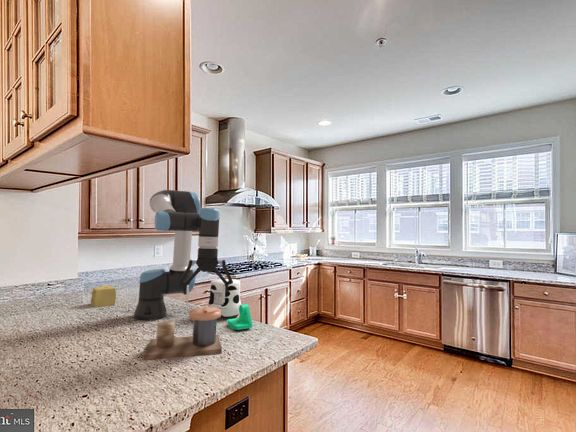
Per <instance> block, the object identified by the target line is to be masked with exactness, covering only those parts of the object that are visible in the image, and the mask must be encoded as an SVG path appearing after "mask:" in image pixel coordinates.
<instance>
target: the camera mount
mask: <svg viewBox="0 0 576 432" xmlns="http://www.w3.org/2000/svg"><path fill="white" fill-rule="evenodd" d="M239 313H240V314H239V315H238V317H236V318H235V317H234V318H227V320H226V321H227V325H228V326H229V328H230V329H232V330H233V331H234V330H235V331H239V330H245V329H251V328H253V321H252V314H251V311H250V305H249V304H248V303H246V304H245V303H244V304H241V305H240V306H239Z"/></svg>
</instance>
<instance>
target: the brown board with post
mask: <svg viewBox="0 0 576 432" xmlns="http://www.w3.org/2000/svg"><path fill="white" fill-rule="evenodd" d="M175 325H176V323H175V321H171V320H166V321H160V322H158V323H157V329H156V338H150V339H149V342H148V345H147V348H146V350H145V353H144V356H143V357H144V358H143V360H154V359H155V360H156V359H168V358H179V357H189V356H204V355H216V354H217V355H218V354H222V352H223V351H222V349H223V348H222V344H221V340H220V336H219V334H216V342H215V343H214V344H213V345H210V346H205V347H200V346H195V345H193V343H192V340H193V335H192V336H181V337H179V336H178V337H175V328H176V327H175Z"/></svg>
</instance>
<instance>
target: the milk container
mask: <svg viewBox="0 0 576 432" xmlns="http://www.w3.org/2000/svg"><path fill="white" fill-rule="evenodd" d="M225 279H226V281H229V280H228V278H225ZM232 281H233V283H232V284H229V285H228V293H226V294H225V303H223V302H222V292H223V285H225V284H224V282H223V281H222V280H221V279H220V278H217V279H212V280H211V281H210V285H209V287H210V288H209V298H208V299H209V300H208V303H207V307H214V308H219V309H221V317H220V318H219V319H232V318H235V317H237V316H240V313H239V306H240V305H242V302H241V301H242V300H241V280H239V279H234V278H232Z"/></svg>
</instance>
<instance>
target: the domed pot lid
mask: <svg viewBox="0 0 576 432" xmlns="http://www.w3.org/2000/svg"><path fill="white" fill-rule="evenodd" d="M220 317H221V309H219V308H214V307H208V306H203V307H201V306H200V307H196V308H192V309H190V310H189V311H188V319H190V320H191V321H193V320H198V321H207V320H214V319H221V318H220Z"/></svg>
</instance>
